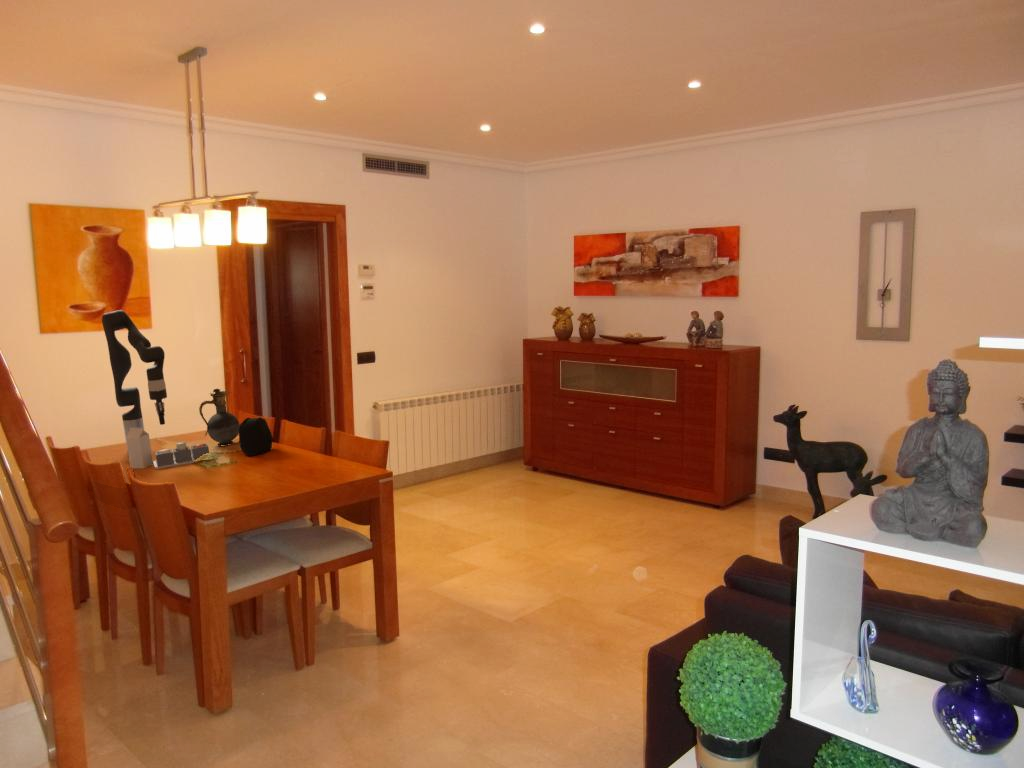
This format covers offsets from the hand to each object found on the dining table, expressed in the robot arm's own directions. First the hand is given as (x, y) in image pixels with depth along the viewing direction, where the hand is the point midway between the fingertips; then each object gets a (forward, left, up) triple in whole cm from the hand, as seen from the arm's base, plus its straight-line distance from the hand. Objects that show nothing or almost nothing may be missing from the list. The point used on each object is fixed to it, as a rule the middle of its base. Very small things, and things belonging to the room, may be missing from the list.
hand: (162, 424), depth 366 cm
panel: (+3, +7, -19) cm, 20 cm away
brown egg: (+3, +15, -17) cm, 23 cm away
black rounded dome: (+11, +40, -19) cm, 45 cm away
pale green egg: (+3, +7, -15) cm, 17 cm away
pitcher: (-17, +28, -19) cm, 38 cm away
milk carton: (-1, -11, -19) cm, 22 cm away
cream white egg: (+3, -1, -17) cm, 17 cm away
